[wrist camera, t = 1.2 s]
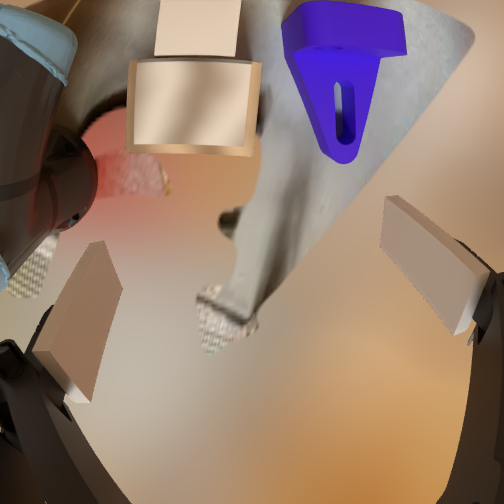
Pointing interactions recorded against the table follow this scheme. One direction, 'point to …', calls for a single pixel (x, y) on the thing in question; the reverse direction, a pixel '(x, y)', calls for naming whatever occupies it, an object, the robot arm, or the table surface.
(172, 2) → the cream and orange panel
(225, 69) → the clamp block
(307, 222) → the table surface
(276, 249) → the table surface
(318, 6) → the bracket
